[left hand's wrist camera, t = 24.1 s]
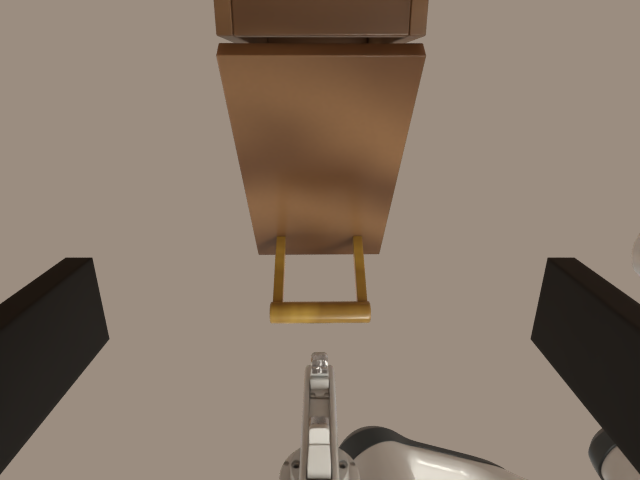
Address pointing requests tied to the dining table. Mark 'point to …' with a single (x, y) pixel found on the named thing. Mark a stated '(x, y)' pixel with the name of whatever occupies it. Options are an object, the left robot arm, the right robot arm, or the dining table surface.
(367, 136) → the lid
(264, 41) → the chest
